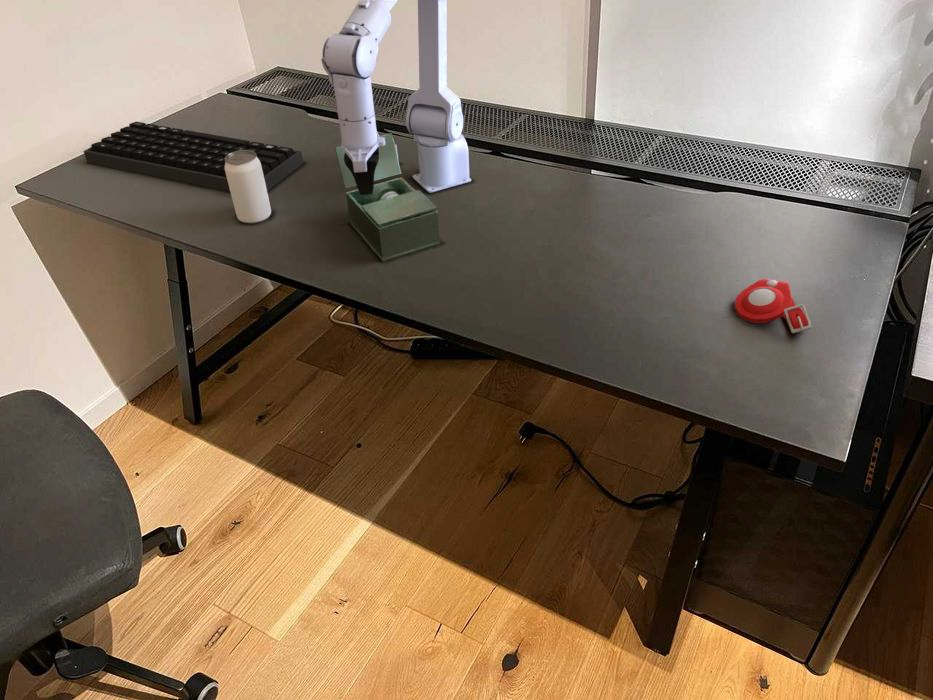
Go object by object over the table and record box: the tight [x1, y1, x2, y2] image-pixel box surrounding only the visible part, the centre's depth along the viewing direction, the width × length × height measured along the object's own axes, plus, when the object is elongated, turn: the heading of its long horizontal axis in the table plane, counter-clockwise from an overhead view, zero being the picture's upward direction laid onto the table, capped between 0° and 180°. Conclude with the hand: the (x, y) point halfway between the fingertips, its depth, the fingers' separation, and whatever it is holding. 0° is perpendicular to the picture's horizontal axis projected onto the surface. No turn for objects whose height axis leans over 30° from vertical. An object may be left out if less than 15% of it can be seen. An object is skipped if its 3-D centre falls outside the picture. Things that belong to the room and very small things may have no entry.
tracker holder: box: [734, 278, 813, 334], centre depth 114 cm, size 12×4×10 cm
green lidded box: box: [345, 176, 441, 263], centre depth 135 cm, size 15×11×7 cm
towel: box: [380, 192, 413, 223], centre depth 139 cm, size 4×6×4 cm
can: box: [225, 150, 272, 224], centre depth 141 cm, size 6×6×12 cm
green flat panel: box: [334, 132, 402, 190], centre depth 137 cm, size 7×11×1 cm
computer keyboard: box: [83, 121, 304, 192], centre depth 162 cm, size 45×16×4 cm, turn 66°
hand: (366, 192), depth 128 cm, fingers closed
